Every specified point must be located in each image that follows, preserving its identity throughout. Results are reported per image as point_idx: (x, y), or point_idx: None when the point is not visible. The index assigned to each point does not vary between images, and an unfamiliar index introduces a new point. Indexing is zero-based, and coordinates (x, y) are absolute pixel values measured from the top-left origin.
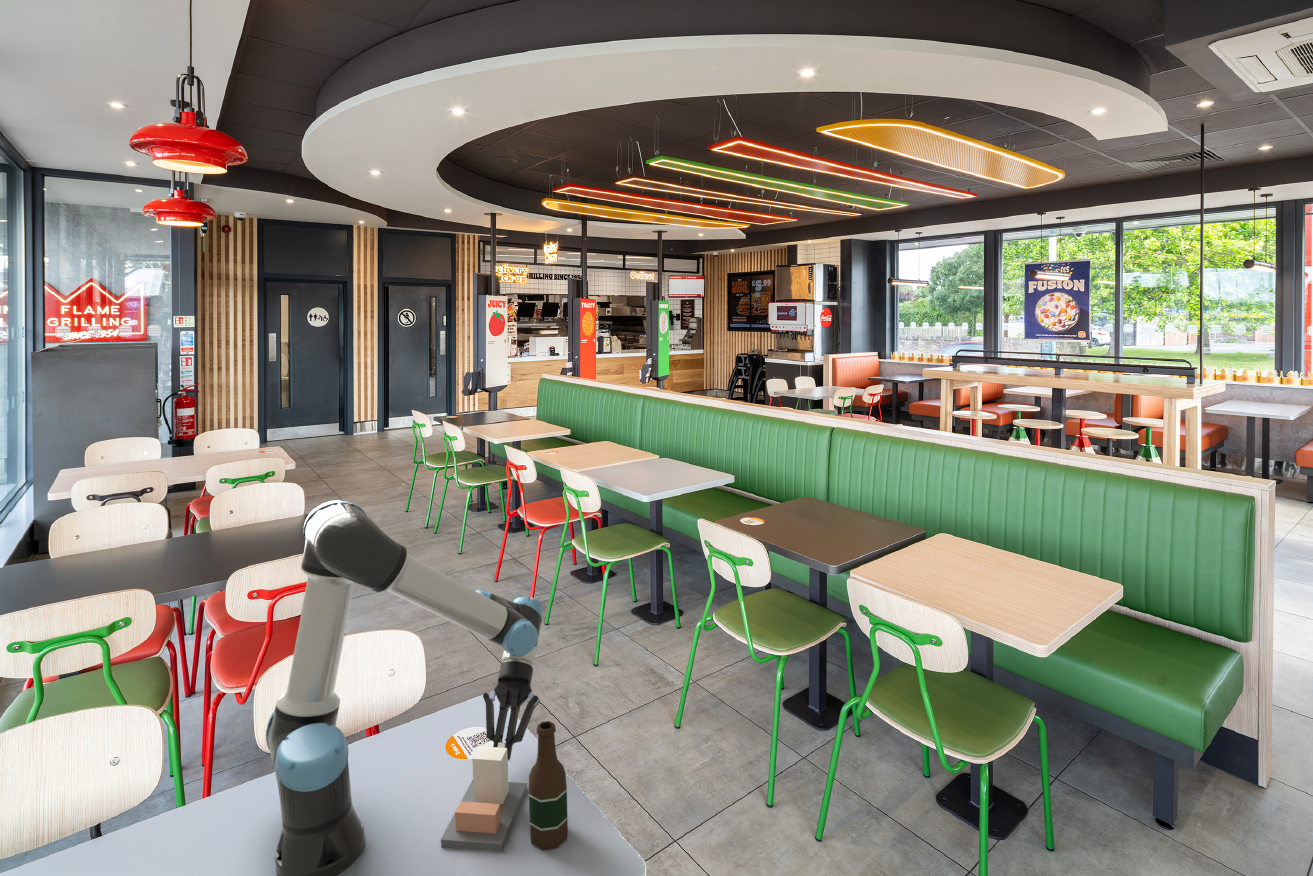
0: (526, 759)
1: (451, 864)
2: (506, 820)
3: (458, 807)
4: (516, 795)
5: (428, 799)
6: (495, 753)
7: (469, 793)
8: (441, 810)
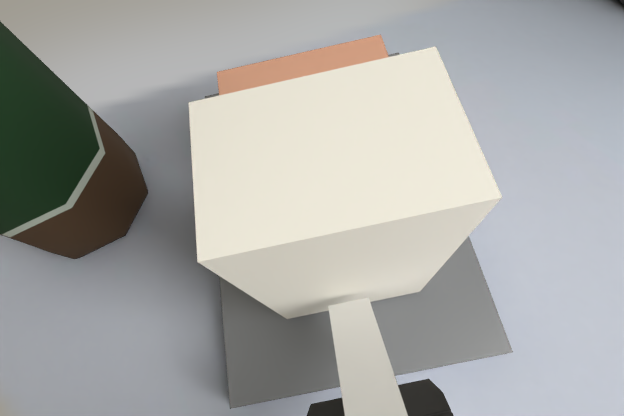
0: None
1: (328, 40)
2: None
3: (384, 55)
4: (245, 308)
5: (618, 217)
6: (276, 159)
7: (456, 256)
8: (514, 185)
